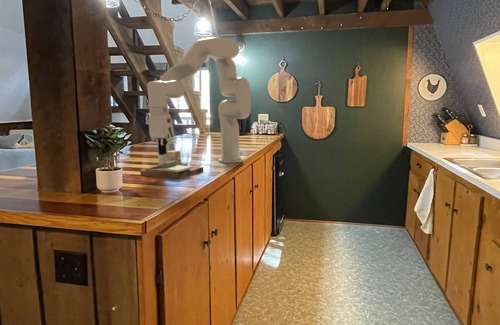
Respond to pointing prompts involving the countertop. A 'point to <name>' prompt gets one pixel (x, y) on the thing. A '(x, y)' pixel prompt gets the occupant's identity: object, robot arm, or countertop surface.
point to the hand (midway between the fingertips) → (162, 154)
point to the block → (173, 156)
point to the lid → (174, 167)
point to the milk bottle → (163, 157)
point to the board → (170, 172)
